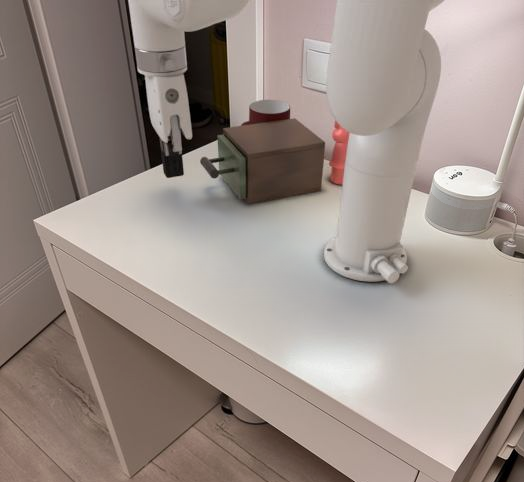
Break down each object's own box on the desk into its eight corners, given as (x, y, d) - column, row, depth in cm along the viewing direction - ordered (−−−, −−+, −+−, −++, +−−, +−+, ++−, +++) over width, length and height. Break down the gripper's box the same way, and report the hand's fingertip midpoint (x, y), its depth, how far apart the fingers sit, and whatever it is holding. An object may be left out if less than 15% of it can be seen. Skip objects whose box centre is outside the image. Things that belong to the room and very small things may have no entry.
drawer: (216, 203, 94) (214, 163, 89) (197, 177, 102) (194, 138, 97) (308, 187, 99) (311, 148, 94) (283, 162, 107) (284, 125, 102)
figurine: (344, 172, 106) (354, 91, 96) (359, 182, 103) (370, 100, 92) (322, 176, 104) (329, 95, 94) (336, 187, 101) (345, 104, 91)
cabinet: (248, 204, 96) (248, 154, 90) (224, 175, 104) (223, 128, 98) (321, 190, 100) (325, 142, 94) (292, 164, 108) (295, 118, 102)
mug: (247, 169, 106) (247, 118, 100) (232, 154, 112) (231, 104, 105) (295, 160, 110) (297, 110, 103) (277, 146, 115) (279, 97, 108)
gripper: (199, 70, 77) (207, 189, 89) (172, 45, 87) (183, 155, 100) (148, 75, 75) (163, 197, 87) (126, 49, 85) (143, 161, 98)
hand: (173, 174), depth 93 cm, fingers closed
